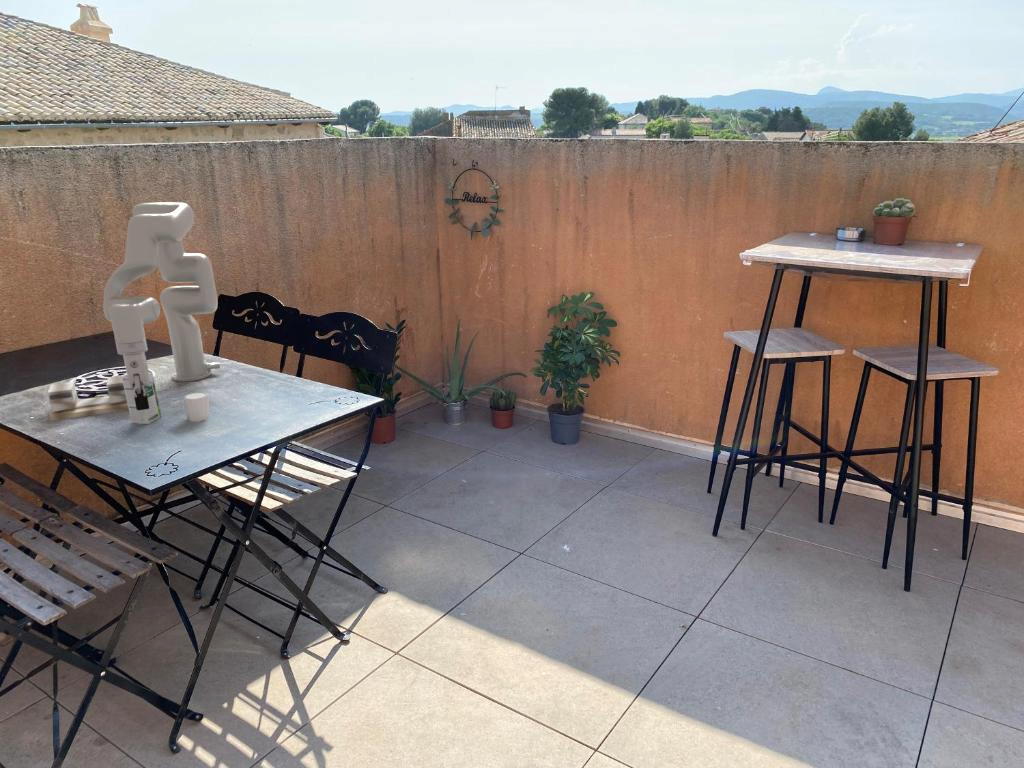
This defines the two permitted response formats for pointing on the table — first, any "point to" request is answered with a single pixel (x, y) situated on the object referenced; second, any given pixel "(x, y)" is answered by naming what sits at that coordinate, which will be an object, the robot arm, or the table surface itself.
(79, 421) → the table surface
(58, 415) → the rail board
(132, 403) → the syrup box
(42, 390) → the table surface
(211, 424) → the table surface
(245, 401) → the table surface
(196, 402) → the shot glass
